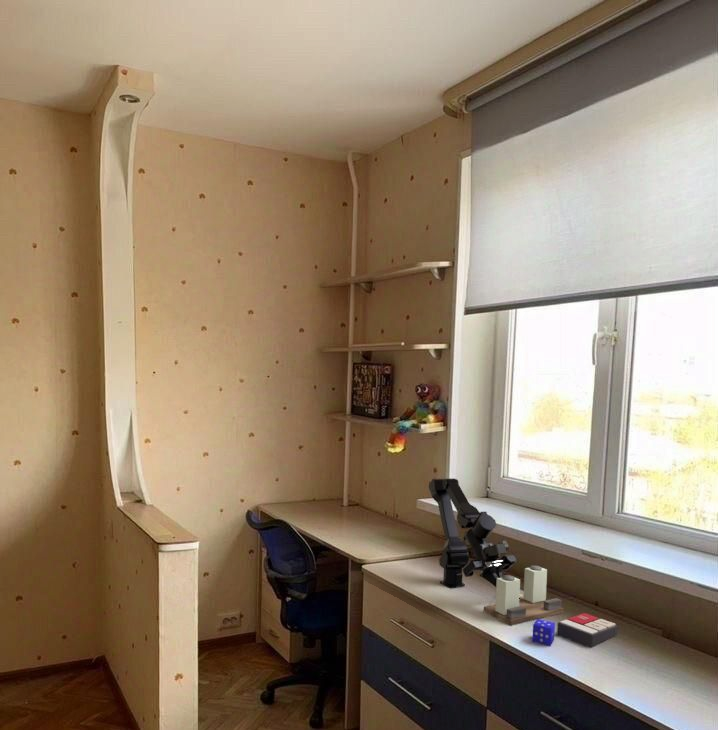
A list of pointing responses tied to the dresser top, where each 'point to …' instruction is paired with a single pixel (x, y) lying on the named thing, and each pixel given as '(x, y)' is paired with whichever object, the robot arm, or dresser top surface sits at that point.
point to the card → (521, 594)
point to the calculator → (587, 629)
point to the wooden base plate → (527, 611)
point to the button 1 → (507, 593)
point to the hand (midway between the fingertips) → (502, 590)
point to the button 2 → (535, 584)
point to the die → (543, 632)
